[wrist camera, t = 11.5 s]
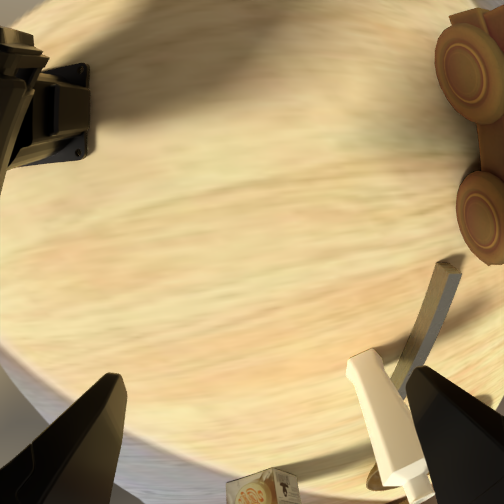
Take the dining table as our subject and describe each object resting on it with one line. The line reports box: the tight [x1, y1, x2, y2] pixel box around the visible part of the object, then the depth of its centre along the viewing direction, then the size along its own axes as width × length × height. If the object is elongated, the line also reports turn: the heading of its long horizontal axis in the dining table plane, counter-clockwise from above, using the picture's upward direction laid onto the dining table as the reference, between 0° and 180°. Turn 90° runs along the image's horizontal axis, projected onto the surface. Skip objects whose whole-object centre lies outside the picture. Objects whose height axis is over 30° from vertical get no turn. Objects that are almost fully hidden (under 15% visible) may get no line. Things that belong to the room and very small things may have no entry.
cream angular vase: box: [346, 348, 435, 504], centre depth 19 cm, size 5×4×15 cm
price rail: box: [390, 263, 462, 400], centre depth 26 cm, size 2×22×2 cm, turn 176°
